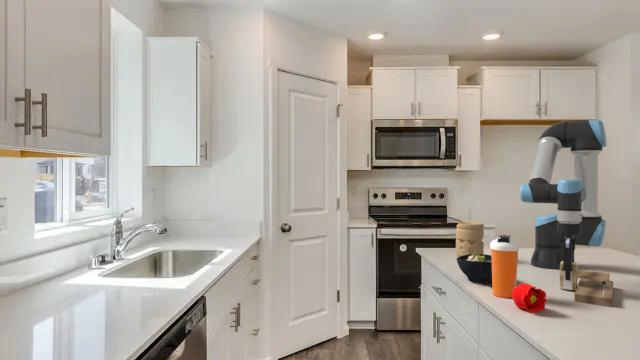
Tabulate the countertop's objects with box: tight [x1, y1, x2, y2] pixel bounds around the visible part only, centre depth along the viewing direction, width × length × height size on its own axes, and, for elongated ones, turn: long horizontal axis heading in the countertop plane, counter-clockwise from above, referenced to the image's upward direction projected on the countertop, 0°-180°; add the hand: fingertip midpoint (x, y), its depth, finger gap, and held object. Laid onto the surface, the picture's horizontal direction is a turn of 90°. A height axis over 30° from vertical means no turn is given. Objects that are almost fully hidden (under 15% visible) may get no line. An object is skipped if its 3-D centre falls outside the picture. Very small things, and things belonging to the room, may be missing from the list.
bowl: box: [456, 254, 492, 284], centre depth 163 cm, size 17×17×10 cm
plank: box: [573, 278, 614, 308], centre depth 144 cm, size 10×28×2 cm, turn 145°
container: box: [455, 221, 485, 261], centre depth 203 cm, size 13×13×18 cm
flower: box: [512, 283, 548, 314], centre depth 128 cm, size 8×8×8 cm
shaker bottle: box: [489, 234, 520, 299], centre depth 142 cm, size 9×9×20 cm
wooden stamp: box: [559, 261, 610, 292], centre depth 148 cm, size 14×5×9 cm, turn 55°
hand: (568, 287), depth 151 cm, fingers closed on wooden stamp, 5 cm apart
